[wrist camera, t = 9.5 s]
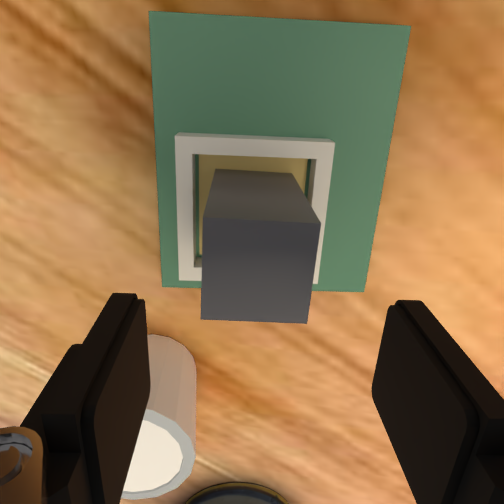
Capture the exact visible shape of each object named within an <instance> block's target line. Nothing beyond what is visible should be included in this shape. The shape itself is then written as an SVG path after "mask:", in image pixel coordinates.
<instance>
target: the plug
mask: <svg viewBox="0 0 504 504" xmlns="http://www.w3.org/2000/svg"><path fill="white" fill-rule="evenodd" d="M320 229H321V222H320V221H319V219H318V217H317V215H316V214H315V212H314V210H313V208H312V207H311V205H310V203H309V202H308V200H307V198H306V196H305V195H304V193H303V191H302V189H301V188H300V186H299V184H298V183H297V181H296V179H295V177H294V176H293V174H292V173H280V172H264V171H248V170H231V169H215V172H214V176H213V180H212V183H211V187H210V191H209V195H208V199H207V203H206V207H205V210H204V214H203V228H202V279H201V319H204V320H229V321H254V322H279V323H304V324H307V320H308V313H309V306H310V299H311V292H312V285H313V278H314V271H315V264H316V257H317V250H318V243H319V236H320Z"/></svg>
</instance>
